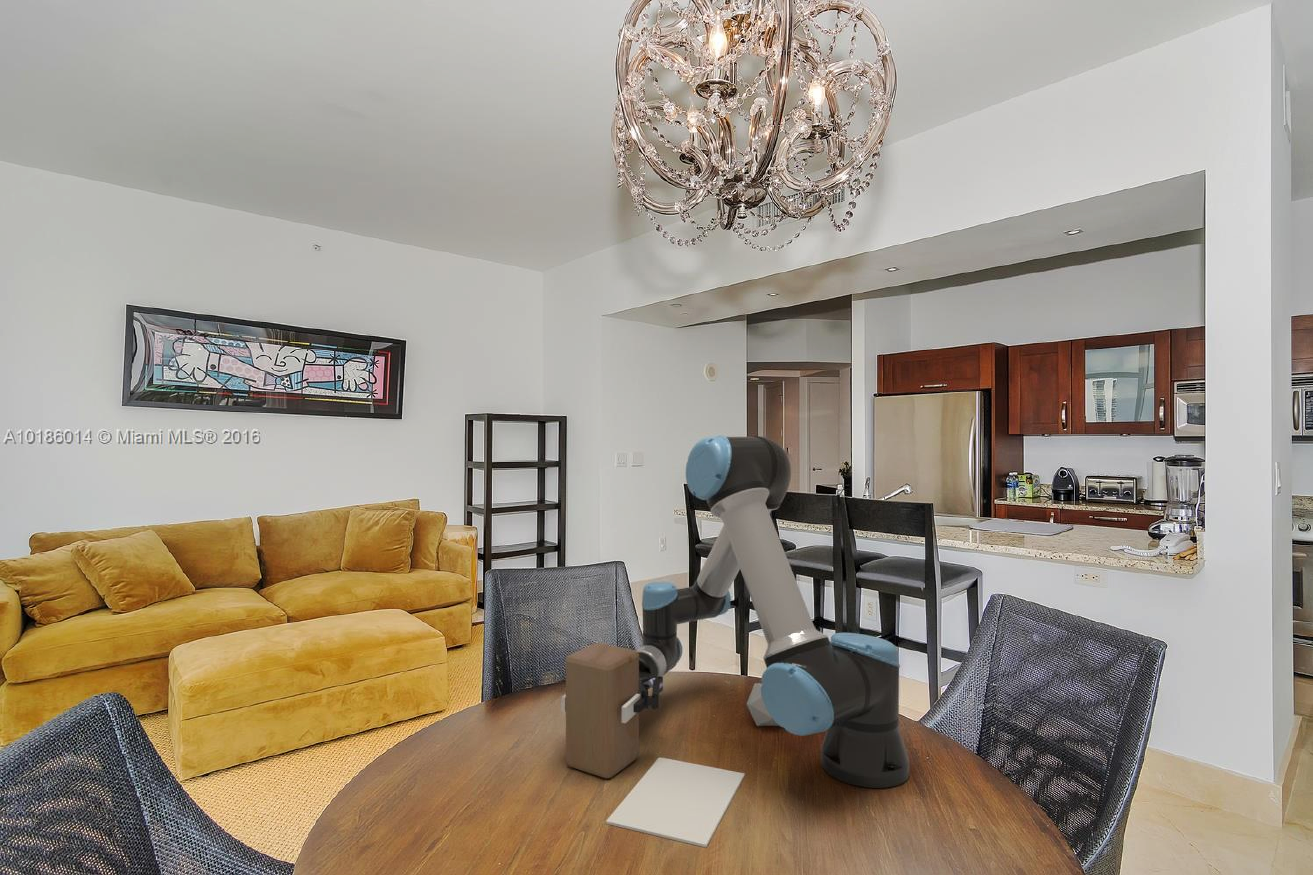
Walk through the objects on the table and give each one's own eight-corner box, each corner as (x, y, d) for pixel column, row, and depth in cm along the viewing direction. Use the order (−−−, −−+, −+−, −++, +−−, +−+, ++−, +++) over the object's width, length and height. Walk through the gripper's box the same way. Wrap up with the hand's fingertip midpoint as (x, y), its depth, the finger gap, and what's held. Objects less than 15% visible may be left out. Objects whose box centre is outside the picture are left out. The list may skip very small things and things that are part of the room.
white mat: (744, 775, 117) (744, 773, 117) (706, 847, 96) (706, 844, 96) (659, 759, 123) (659, 756, 123) (606, 823, 102) (606, 820, 102)
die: (779, 739, 132) (801, 694, 135) (741, 714, 134) (763, 670, 137) (772, 736, 140) (793, 694, 143) (736, 713, 141) (757, 672, 144)
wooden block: (641, 758, 123) (641, 649, 123) (608, 782, 114) (608, 665, 114) (597, 745, 128) (597, 640, 128) (563, 766, 120) (563, 655, 120)
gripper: (696, 696, 134) (655, 742, 113) (591, 680, 142) (535, 720, 122) (696, 658, 134) (655, 698, 113) (591, 644, 142) (535, 679, 122)
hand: (592, 709), depth 118 cm, fingers closed on wooden block, 11 cm apart
